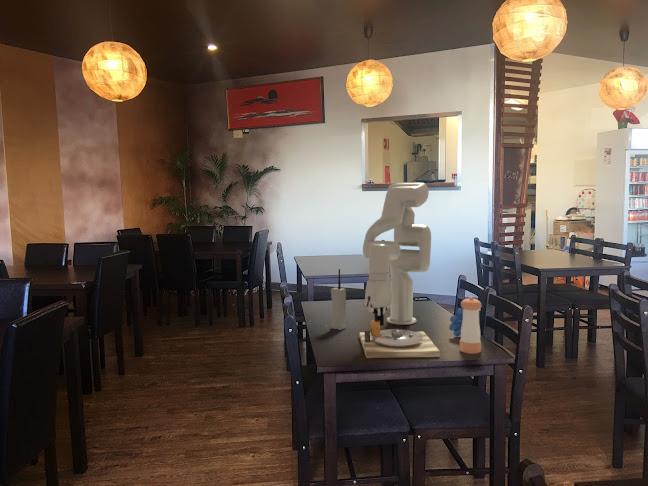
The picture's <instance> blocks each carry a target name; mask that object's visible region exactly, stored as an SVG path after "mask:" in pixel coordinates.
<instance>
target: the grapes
mask: <svg viewBox="0 0 648 486" xmlns="http://www.w3.org/2000/svg"><path fill="white" fill-rule="evenodd" d="M449 321H450V324H449V326H448V328H449V330H450V331H452V332H453V335H454V336H455V337H461V327H462V321H463V308H457V310H456V311H455V314H453V315H452V316H450V318H449ZM479 322H480V319H479Z"/></svg>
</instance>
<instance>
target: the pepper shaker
mask: <svg viewBox="0 0 648 486" xmlns="http://www.w3.org/2000/svg"><path fill="white" fill-rule="evenodd" d="M460 306H461V309H463V321H462V327H461V335H460V339H459V351H460V352H461V353H465V354H471V355H473V354H474V355H475V354H480V353H481V351H482V342H481V327H480V321H479V320H480V309H481V308H482V307H483V306H482V302H481V301H480V300H478V299H476V298H474V297H473V296H470V297H468V298H465V299H463V300H462V301H461V302H460Z"/></svg>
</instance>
